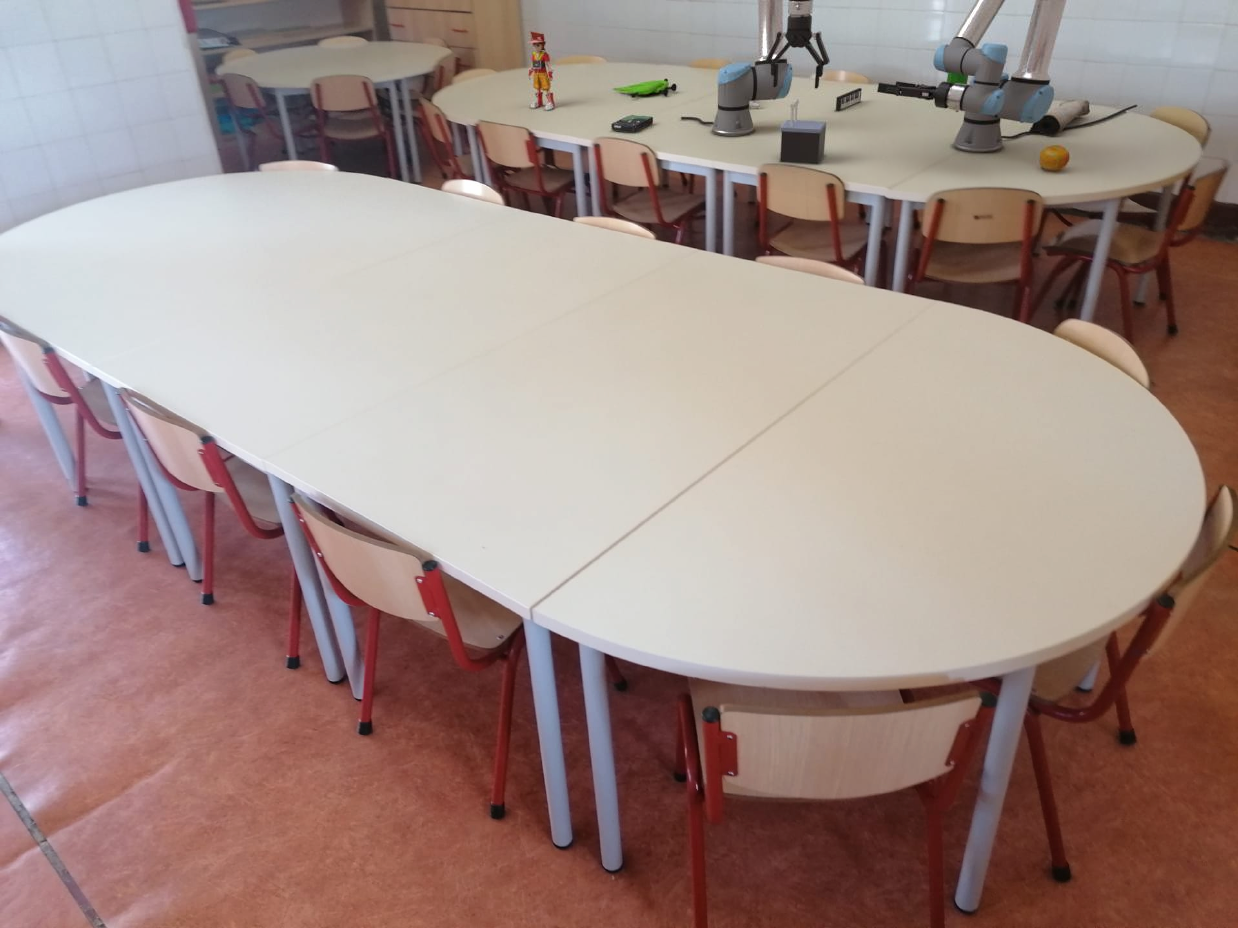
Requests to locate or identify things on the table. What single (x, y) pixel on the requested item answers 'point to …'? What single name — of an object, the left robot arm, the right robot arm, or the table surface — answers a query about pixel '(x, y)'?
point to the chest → (802, 147)
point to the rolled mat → (1061, 117)
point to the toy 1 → (541, 71)
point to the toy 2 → (648, 88)
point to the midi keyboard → (848, 99)
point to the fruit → (1054, 157)
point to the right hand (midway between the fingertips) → (887, 86)
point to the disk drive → (632, 123)
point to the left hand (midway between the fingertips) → (795, 87)
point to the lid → (801, 123)
